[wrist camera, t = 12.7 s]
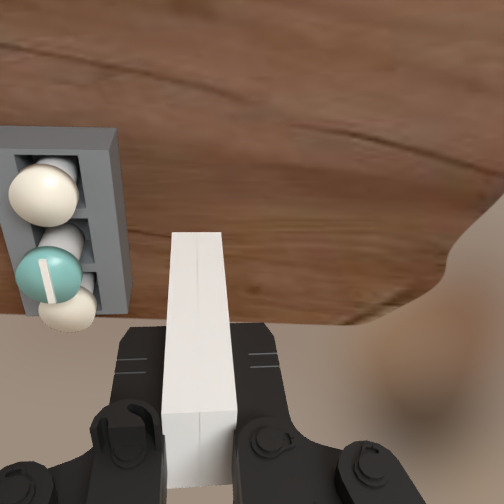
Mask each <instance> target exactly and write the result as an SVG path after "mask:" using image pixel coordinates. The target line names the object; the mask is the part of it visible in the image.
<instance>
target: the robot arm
mask: <svg viewBox="0 0 504 504" xmlns="http://www.w3.org/2000/svg"><path fill="white" fill-rule="evenodd" d="M90 433H91V438H92V443H93V447H92V448H91V449H90V450H89V451H87V452H86V453H85V454H84V455H82V456H80V457H78V458H75V459H73V460H71V461H68V462H65V463H62V464H60V465H57V466H54V467H51V468H48V469H47V468H46V467H45V466H44V465H41V464H39V463H36V462H34V461H32V462H31V461H29V462H17V463H15V464H12V465H9V466H6V467H4V468H3V469H1V470H0V504H166V498H167V489H168V488H182V487H198V486H213V485H228V484H233V499H234V500H233V504H426V503H425V501H424V500H423V498H422V497H421V495H420V493H419V492H418V490H417V489H416V487H415V485H414V484H413V482H412V481H411V479H410V478H409V476H408V475H407V473H406V472H405V470H404V468H403V467H402V465H401V464H400V462H399V460H397V458H396V457H395V456H394V455H393V454H392V453H391V451H390V450H388V449H386V448H385V447H383V446H381V445H380V444H377V443H374V442H370V441H356V442H353V443H351V444H350V445H348V446H346V447H345V448H344V450H340V449H336V448H332V447H328V446H324V445H321V444H318V443H315V442H313V441H310V440H309V439H307V438H306V437H304V436H303V435H302V434H301V433H300V432H299V431H298V430H297V429H296V428H295V426H294V425H293V423H292V422H291V418H290V415H289V411H288V406H287V401H286V396H285V391H284V386H283V381H282V376H281V371H280V368H279V361H278V355H277V350H276V345H275V340H274V336H273V334H272V333H271V332H270V330H269V329H268V328H267V327H266V325H265V324H264V323H229V314H228V303H227V292H226V282H225V271H224V260H223V249H222V239H221V232H172V244H171V260H170V277H169V293H168V310H167V326H157V327H130V328H129V330H128V331H127V332H126V334H125V335H124V337H123V338H122V339H121V341H120V343H119V350H118V356H117V362H116V368H115V375H114V379H113V386H112V391H111V397H110V403H109V405H108V406H106V407H104V408H103V409H102V410H101V411H100V412H99V413H98V414H97V415H96V416H95V417H94V419H93V422H92V424H91V427H90Z"/></svg>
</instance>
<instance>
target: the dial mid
mask: <svg viewBox="0 0 504 504" xmlns="http://www.w3.org/2000/svg"><path fill="white" fill-rule="evenodd" d="M84 244H85V235H84V233H83V231H82V230H81V229H80V228H79V227H78V226H77V225H75V224H73V223H70V222H65V223H64V224H61V225H58V226H54V227H47V228H46V230H45V232H44V234H43V236H42V238H41V241H40V243H39V245H38V247H36V248H33V249H31V250H30V251H28V252H27V253H26V254H25V255H24V256H23V258H22V260H21V262H20V264H19V266H18V268H17V270H16V274H15V279H16V283H17V285H18V287H19V288H20V290H21V291H22V292H23V293H24V294H25V295H27V296H28V297H30V298H31V299H33V300H36V301H38V302H42V303H47V304H58V303H63V302H66V301H68V300H70V299H72V298H73V297H74V296H75V295H76V294H77V293H78V291H79V288H80V285H81V281H82V278H83V268H82V265H81V263H80V262H79V259H80V256H81V253H82V250H83V247H84Z"/></svg>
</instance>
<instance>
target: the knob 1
mask: <svg viewBox="0 0 504 504" xmlns="http://www.w3.org/2000/svg"><path fill="white" fill-rule="evenodd" d="M80 173H81V171H80V165H79V159H78V157H77V156H76V155H41V156H40V157H39V159H38V161H37V162H36V164H32V165H29V166H27V167H25V168H23V169H22V170H21V171H20V172H19V173H18V174H17V176H16V177H15V179H14V180H13V182H12V183H11V185H10V188H9V201H10V204H11V206H12V208H13V209H14V211H15V212H16V213H17V214H18V215H19V216H20V217H21V218H23V219H24V220H26V221H27V222H29V223H31V224H34V225H37V226H42V227H54V226H58V225H61V224H64V223H65V222H67V221H68V220H69V219H70V218H71V217H72V215H73V214H74V211H75V209H76V206H77V204H78V200H79V191H78V188H77V185H76V183H77V180H78V178H79V176H80Z"/></svg>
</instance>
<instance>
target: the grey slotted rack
mask: <svg viewBox="0 0 504 504" xmlns="http://www.w3.org/2000/svg"><path fill="white" fill-rule="evenodd" d="M41 155H76V156H77V157H78V159H79V165H80V171H81V173H80V176H79V178H78V180H77V183H76V185H77V188H78V191H79V200H78V204H77V206H76V209H75V211H74V214H73V215H72V217H71V218H70V219H69V220H68V221H67V222H70V223H73V224H75V225H77V226H78V227H79V228H80V229H81V230H82V231H83V233H84V235H85V244H84V247H83V250H82V253H81V256H80V259H79V262H80V263H81V265H82V268H83V272H96V273H97V279H96V283H95V287H94V290H93V295H94V297H95V299H96V301H97V309H96V313H95V315H99V314H128V310H129V304H130V297H131V291H132V285H133V281H132V272H131V262H130V253H129V243H128V234H127V224H126V214H125V205H124V195H123V186H122V176H121V166H120V157H119V147H118V138H117V128H94V127H47V126H0V224H1V227H2V231H3V235H4V238H5V242H6V245H7V249H8V252H9V256H10V259H11V263H12V267H13V270H14V274H16V270H17V268H18V266H19V264H20V262H21V260H22V258H23V256H24V255H25V254H26V253H27V252H28V251H30V250H31V249H33V248H36V247H38V245H39V243H40V241H41V238H42V236H43V234H44V232H45V230H46V228H47V227H42V226H37V225H34V224H31V223H29V222H27V221H26V220H24V219H23V218H21V217H20V216H19V215H18V214H17V213H16V212H15V211H14V209H13V208H12V206H11V204H10V201H9V188H10V185H11V183H12V182H13V180H14V179H15V177H16V176H17V174H18V173H19V172H20V171H21V170H22V169H23V168H25V167H27V166H29V165H32V164H36V162H37V161H38V159H39V157H40V156H41ZM18 288H19V287H18ZM19 292H20V295H21V299H22V302H23V306H24V309H25V313H26V316H39V312H38V308H39V305H40V302H38V301H36V300H33V299H31V298H30V297H28V296H27V295H25V294H24V293H23V292H22V291H21V290H20V288H19Z"/></svg>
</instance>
